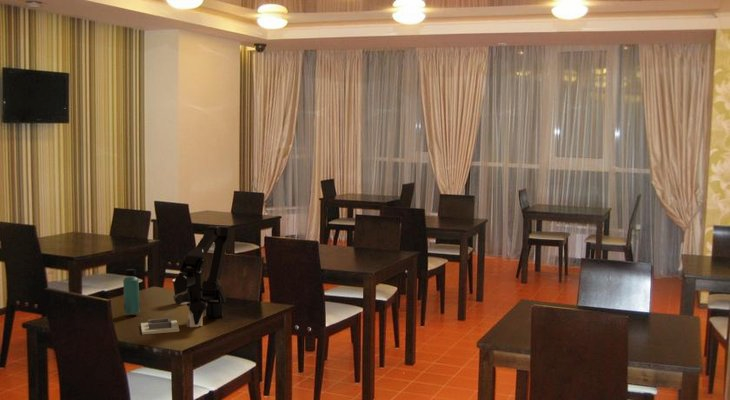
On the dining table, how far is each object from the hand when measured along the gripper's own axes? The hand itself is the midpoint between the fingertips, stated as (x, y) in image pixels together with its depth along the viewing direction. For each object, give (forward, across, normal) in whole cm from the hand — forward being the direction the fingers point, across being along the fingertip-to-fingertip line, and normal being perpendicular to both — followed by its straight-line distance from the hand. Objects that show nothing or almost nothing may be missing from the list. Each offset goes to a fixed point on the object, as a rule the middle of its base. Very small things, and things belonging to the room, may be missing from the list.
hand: (195, 323), depth 303 cm
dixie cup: (+1, -41, -2) cm, 41 cm away
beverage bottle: (+1, -25, -24) cm, 35 cm away
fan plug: (+1, 0, 0) cm, 1 cm away
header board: (+1, 0, -14) cm, 14 cm away
